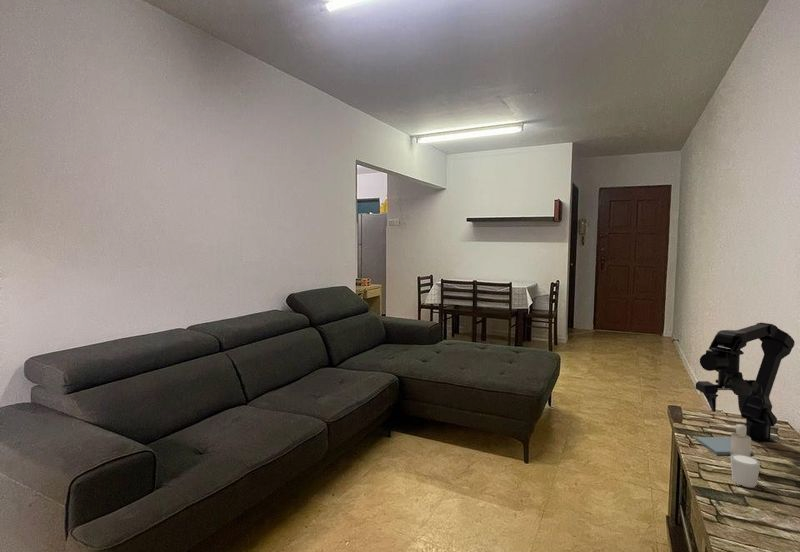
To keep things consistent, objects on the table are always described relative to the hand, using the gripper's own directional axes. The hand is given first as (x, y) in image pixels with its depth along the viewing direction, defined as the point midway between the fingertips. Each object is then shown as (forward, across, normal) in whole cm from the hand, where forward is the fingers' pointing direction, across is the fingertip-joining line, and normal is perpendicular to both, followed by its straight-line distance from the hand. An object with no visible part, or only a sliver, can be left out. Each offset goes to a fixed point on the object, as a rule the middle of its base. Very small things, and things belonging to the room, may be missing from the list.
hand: (727, 411), depth 149 cm
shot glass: (+12, -11, -24) cm, 29 cm away
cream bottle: (+12, -4, -13) cm, 18 cm away
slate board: (+12, -2, -2) cm, 12 cm away
